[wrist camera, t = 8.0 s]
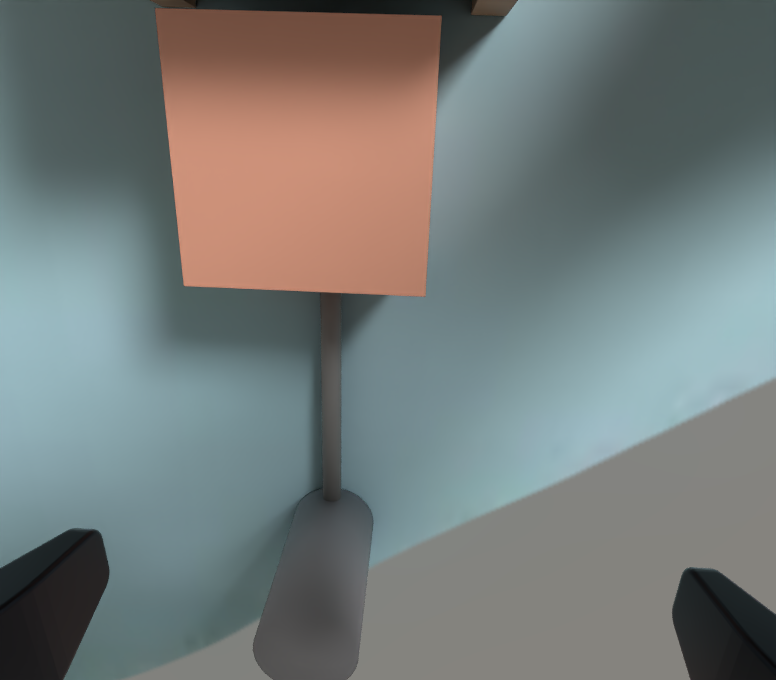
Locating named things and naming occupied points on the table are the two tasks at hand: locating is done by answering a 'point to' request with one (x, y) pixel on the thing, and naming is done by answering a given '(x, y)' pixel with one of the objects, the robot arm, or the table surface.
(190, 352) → the table surface
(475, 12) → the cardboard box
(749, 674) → the robot arm
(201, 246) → the tethered block
